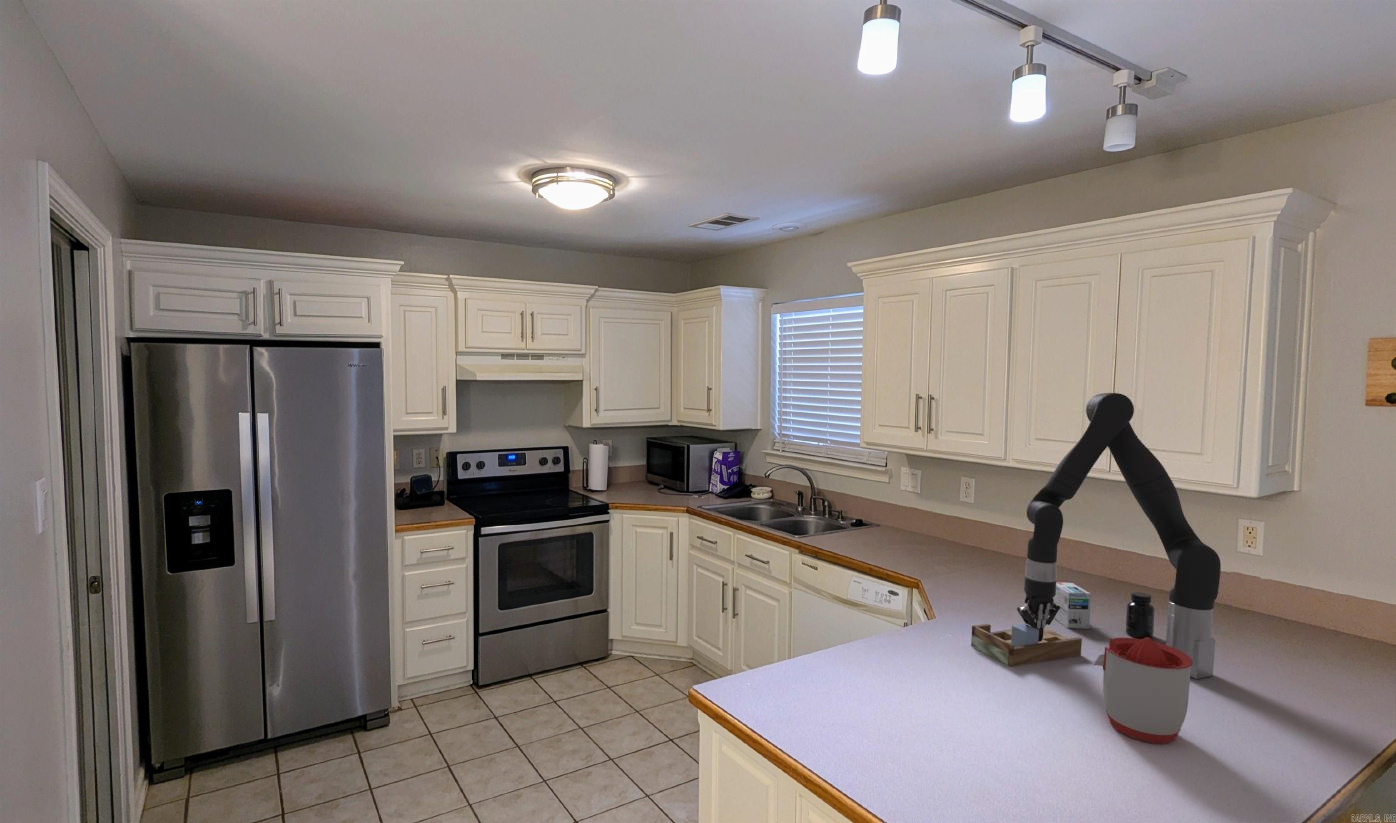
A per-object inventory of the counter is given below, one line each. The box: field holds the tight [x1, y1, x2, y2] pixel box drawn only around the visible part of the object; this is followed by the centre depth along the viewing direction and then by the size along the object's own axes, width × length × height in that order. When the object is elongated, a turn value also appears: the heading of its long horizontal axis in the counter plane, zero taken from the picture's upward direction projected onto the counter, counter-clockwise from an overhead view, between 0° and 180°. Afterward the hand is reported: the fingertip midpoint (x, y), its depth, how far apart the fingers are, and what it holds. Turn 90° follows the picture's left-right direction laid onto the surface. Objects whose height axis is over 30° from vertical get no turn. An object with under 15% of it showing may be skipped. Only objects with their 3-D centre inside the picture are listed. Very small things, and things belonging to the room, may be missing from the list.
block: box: [1011, 623, 1039, 647], centre depth 182 cm, size 4×4×5 cm
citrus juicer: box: [1092, 637, 1193, 745], centre depth 146 cm, size 16×17×20 cm
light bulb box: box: [1053, 581, 1092, 629], centre depth 209 cm, size 11×7×11 cm, turn 179°
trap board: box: [970, 623, 1083, 667], centre depth 187 cm, size 14×24×6 cm, turn 111°
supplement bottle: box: [1125, 591, 1156, 639], centre depth 200 cm, size 7×7×12 cm
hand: (1036, 640), depth 185 cm, fingers closed
